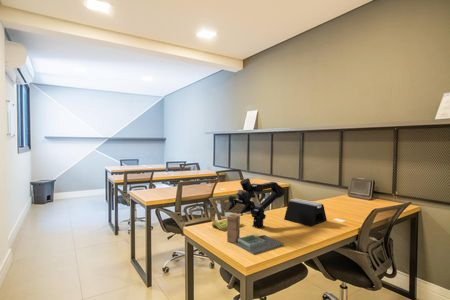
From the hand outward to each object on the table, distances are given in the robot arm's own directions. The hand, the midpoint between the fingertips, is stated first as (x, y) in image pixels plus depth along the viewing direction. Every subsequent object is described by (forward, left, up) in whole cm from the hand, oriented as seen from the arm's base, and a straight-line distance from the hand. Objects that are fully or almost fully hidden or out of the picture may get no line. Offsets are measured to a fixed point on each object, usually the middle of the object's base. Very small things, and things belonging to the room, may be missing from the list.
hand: (234, 211), depth 158 cm
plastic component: (-7, -18, -16) cm, 25 cm away
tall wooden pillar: (+5, +7, -15) cm, 18 cm away
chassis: (-4, +20, -15) cm, 25 cm away
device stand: (-64, +3, -16) cm, 66 cm away
